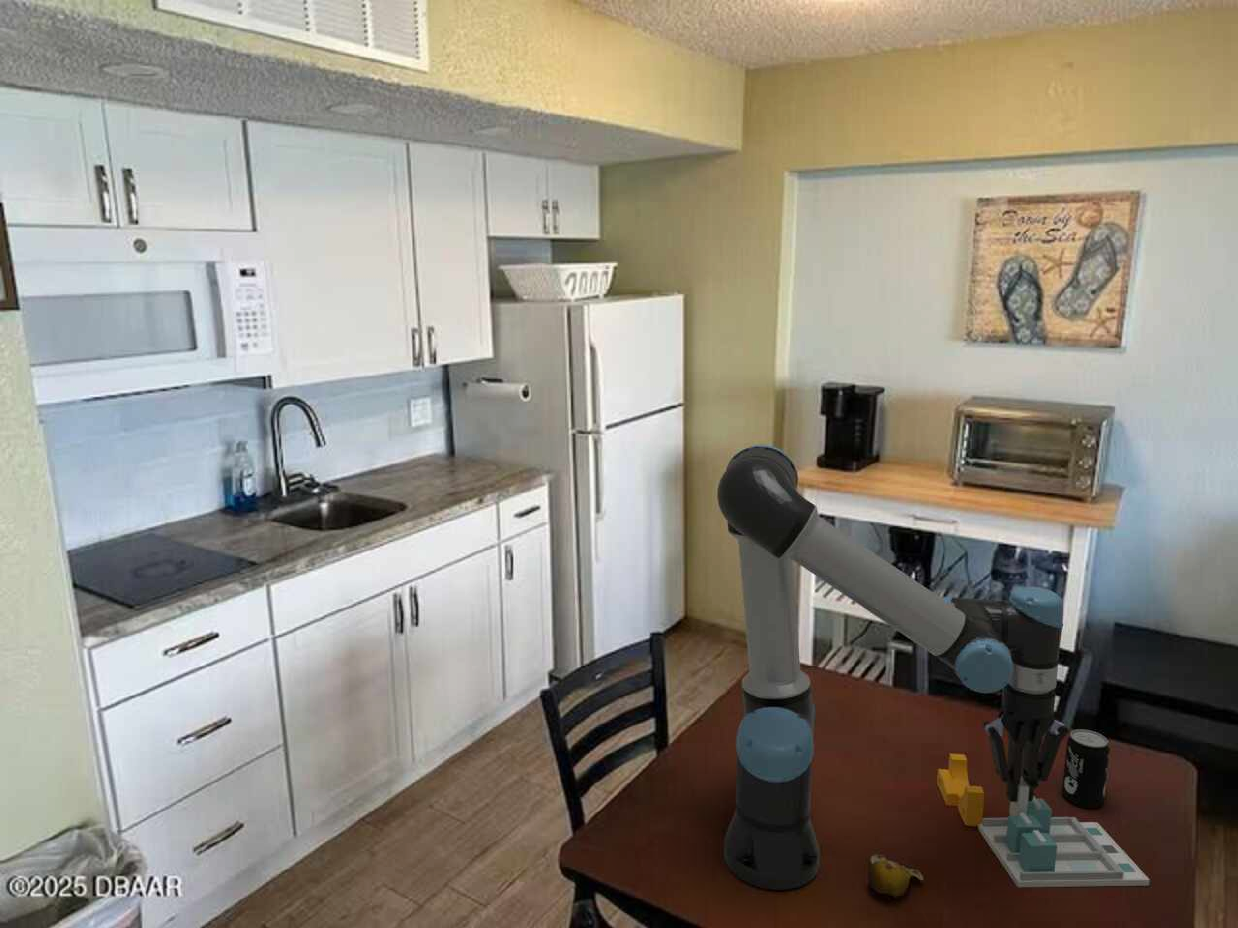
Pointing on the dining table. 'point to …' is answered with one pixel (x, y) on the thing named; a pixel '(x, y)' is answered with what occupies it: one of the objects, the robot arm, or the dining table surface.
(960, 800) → the pipe clamp
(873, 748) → the dining table surface
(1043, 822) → the tab far
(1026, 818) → the tab mid
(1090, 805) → the beverage can
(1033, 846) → the tab near
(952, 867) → the dining table surface
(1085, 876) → the switch board
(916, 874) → the fruit
